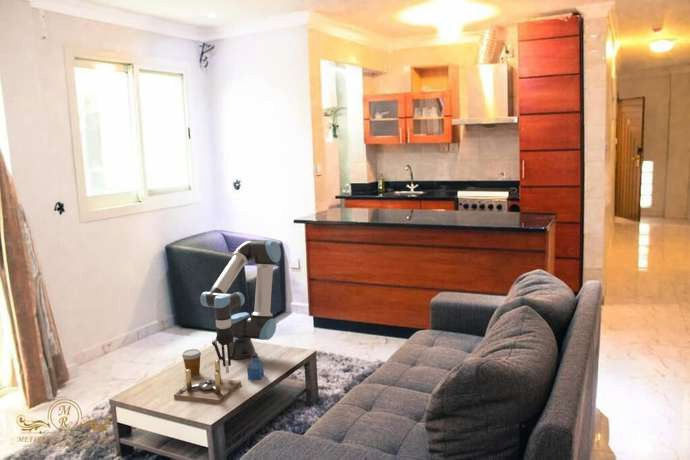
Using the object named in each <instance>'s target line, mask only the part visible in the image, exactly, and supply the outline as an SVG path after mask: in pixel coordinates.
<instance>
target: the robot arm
mask: <svg viewBox="0 0 690 460" xmlns="http://www.w3.org/2000/svg"><path fill="white" fill-rule="evenodd" d="M281 256H282V251H281V248H280V245H279V243H278V242H277V241H275V240H269V239H268V240H265V239H264V240H263V239H249V240H247V241H245V242H243V243H241V244H240V245H239V246H237V248H235V250H234V251H233V252H232V254H231V259H230V260H229V262H228V263H227V265H226V266H225V268H224V269H223V271H222V272H221V274H220V275H219V276H218V278H217V279H216V281H215V283H213V286H212V287H211V289H210V290H209V291H204V292H202V293H201V295H200V300H199V302H200V303H201V305H202V306H203V307H207V308H214V315H215V327H216V337H215V339H214V340H211V344H212V346H213V347H214V349H215V352H216V355H217V357H218V360H220V361H222V366H223V367H225V373H226V374H230V369H229V367H230V366H231V365H232V362H231V360H232V359H233V360H245V359H248V358H251V357H252V354H256V349H255V346H254V343H253V341H252V339H254V340H260V341H266V340H267V341H269V340H271V339H272V338H273V336H274V334H275V332H276V330H277V322H276V319H274V317H273V313H272V312H271V305H272V301H271V300H272V290H273V289H272V286H273V273H274V272H273V271H274V268H275V267H276V266H277V263H278V262H279V261H280V259H281ZM252 261H253V262H254V265H255V267H256V282H255V297H254V310H253V312H252V313H251V314H250V313H249V312H245V311H244V312H238V313H235V314H232V312H233V311H235V310H237V309H238V308H240V307H242V306H243V305H244V304H245V302H246V301H245V295H244V294H243V293H242V292H240V291H237V292H236V291H235V292H233V293H227V291H228V290H229V289H230V287H231V286H232V284H233V282H234V281H235V279H236V278H237V277H238V275H239V273H241V270H242V269H243V267H244V266H247V265H248V263H249V262H252ZM218 344H219V345H221V352H220V348H219V346H218ZM225 346H226V349H227V358H226V356H225V355H226V352H225Z"/></svg>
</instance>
